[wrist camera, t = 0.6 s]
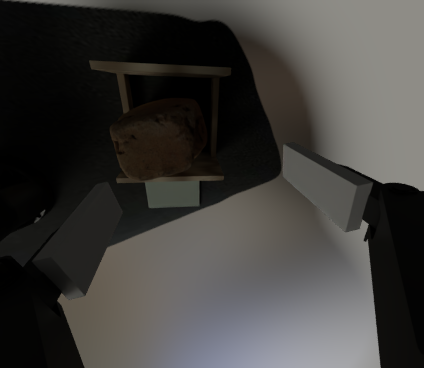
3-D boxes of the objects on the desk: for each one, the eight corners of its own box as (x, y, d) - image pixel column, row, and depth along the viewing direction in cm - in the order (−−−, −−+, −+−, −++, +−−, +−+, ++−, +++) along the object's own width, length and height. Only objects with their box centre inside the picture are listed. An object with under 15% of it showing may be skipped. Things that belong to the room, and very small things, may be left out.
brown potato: (152, 142, 38) (123, 191, 20) (139, 102, 34) (90, 121, 17) (204, 131, 38) (220, 170, 21) (196, 91, 35) (208, 97, 17)
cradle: (135, 156, 39) (117, 182, 28) (121, 68, 32) (89, 60, 21) (213, 155, 41) (223, 180, 30) (216, 73, 34) (231, 67, 23)
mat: (149, 206, 45) (149, 208, 44) (143, 163, 40) (142, 165, 39) (199, 204, 46) (199, 205, 46) (199, 163, 41) (199, 164, 41)
